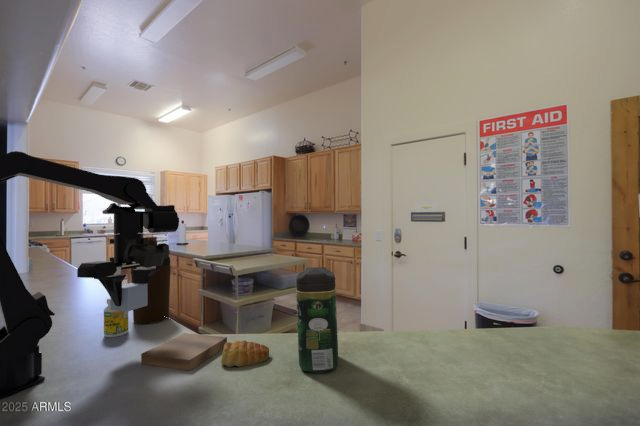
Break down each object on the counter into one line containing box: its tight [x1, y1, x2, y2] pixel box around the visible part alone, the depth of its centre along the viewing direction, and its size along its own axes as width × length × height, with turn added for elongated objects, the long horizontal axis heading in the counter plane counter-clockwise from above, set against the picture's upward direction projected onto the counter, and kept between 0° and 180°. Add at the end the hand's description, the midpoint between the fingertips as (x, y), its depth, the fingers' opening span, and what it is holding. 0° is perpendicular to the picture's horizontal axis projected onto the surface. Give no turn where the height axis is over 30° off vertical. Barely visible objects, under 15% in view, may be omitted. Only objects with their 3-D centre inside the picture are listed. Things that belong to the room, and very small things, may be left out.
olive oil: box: [130, 236, 172, 325], centre depth 92 cm, size 11×11×25 cm
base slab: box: [140, 332, 228, 372], centre depth 65 cm, size 12×12×2 cm
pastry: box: [220, 340, 270, 368], centre depth 62 cm, size 9×7×4 cm
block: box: [111, 282, 148, 313], centre depth 68 cm, size 5×5×5 cm
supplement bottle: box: [103, 296, 129, 338], centre depth 80 cm, size 5×5×10 cm
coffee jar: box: [295, 266, 339, 374], centre depth 60 cm, size 10×8×19 cm
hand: (129, 303), depth 68 cm, fingers closed on block, 5 cm apart
